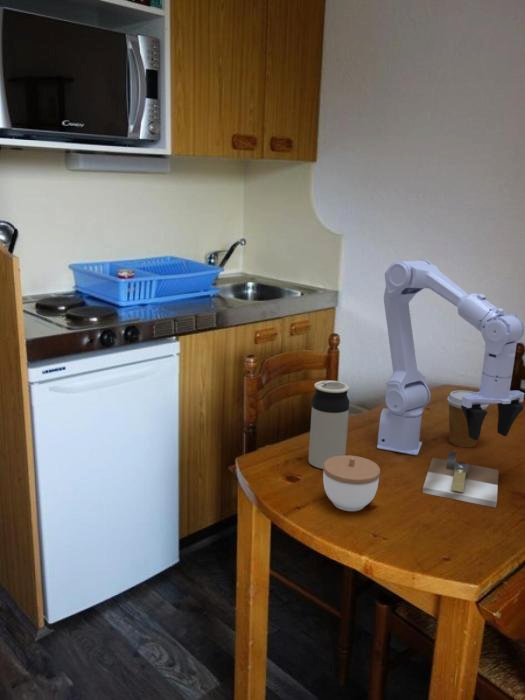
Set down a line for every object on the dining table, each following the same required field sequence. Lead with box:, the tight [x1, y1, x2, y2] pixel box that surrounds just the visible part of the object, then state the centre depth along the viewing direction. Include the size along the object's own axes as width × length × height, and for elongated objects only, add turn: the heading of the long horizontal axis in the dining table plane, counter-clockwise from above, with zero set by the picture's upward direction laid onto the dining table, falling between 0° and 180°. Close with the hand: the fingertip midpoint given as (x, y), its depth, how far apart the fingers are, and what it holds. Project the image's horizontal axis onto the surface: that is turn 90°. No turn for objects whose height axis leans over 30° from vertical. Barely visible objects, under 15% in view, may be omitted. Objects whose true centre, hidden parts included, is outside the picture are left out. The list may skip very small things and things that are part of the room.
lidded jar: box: [322, 454, 381, 512], centre depth 118 cm, size 11×11×9 cm
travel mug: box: [308, 379, 350, 470], centre depth 134 cm, size 8×8×18 cm
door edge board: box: [422, 457, 500, 508], centre depth 129 cm, size 14×16×1 cm
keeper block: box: [446, 450, 457, 470], centre depth 135 cm, size 2×4×2 cm, turn 158°
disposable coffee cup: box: [446, 390, 490, 448], centre depth 150 cm, size 10×10×12 cm
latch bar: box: [451, 461, 470, 492], centre depth 126 cm, size 9×3×3 cm, turn 158°
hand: (488, 436), depth 129 cm, fingers open, 7 cm apart
